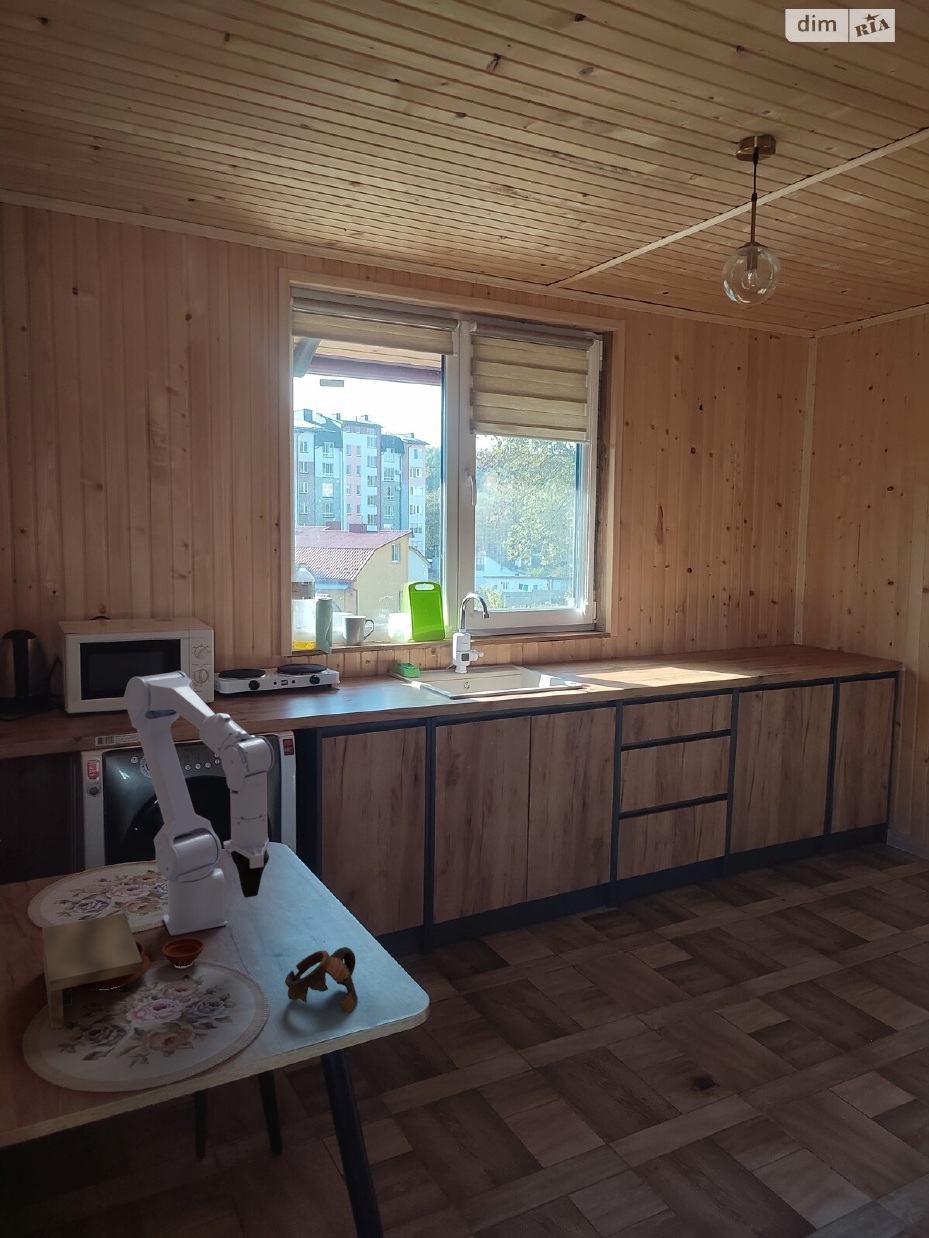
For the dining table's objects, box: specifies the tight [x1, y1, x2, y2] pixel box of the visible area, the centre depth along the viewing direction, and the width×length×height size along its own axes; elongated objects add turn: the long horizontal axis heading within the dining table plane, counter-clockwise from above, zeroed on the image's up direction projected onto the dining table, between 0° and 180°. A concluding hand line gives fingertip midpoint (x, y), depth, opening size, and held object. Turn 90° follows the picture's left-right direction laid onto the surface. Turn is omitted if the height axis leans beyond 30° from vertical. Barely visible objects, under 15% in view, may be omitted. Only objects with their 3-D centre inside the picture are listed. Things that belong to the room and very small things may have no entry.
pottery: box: [74, 937, 205, 991], centre depth 137 cm, size 12×20×4 cm, turn 119°
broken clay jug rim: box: [284, 946, 359, 1014], centre depth 130 cm, size 12×10×8 cm
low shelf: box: [41, 912, 143, 1030], centre depth 132 cm, size 12×18×7 cm, turn 28°
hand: (250, 895), depth 144 cm, fingers closed
